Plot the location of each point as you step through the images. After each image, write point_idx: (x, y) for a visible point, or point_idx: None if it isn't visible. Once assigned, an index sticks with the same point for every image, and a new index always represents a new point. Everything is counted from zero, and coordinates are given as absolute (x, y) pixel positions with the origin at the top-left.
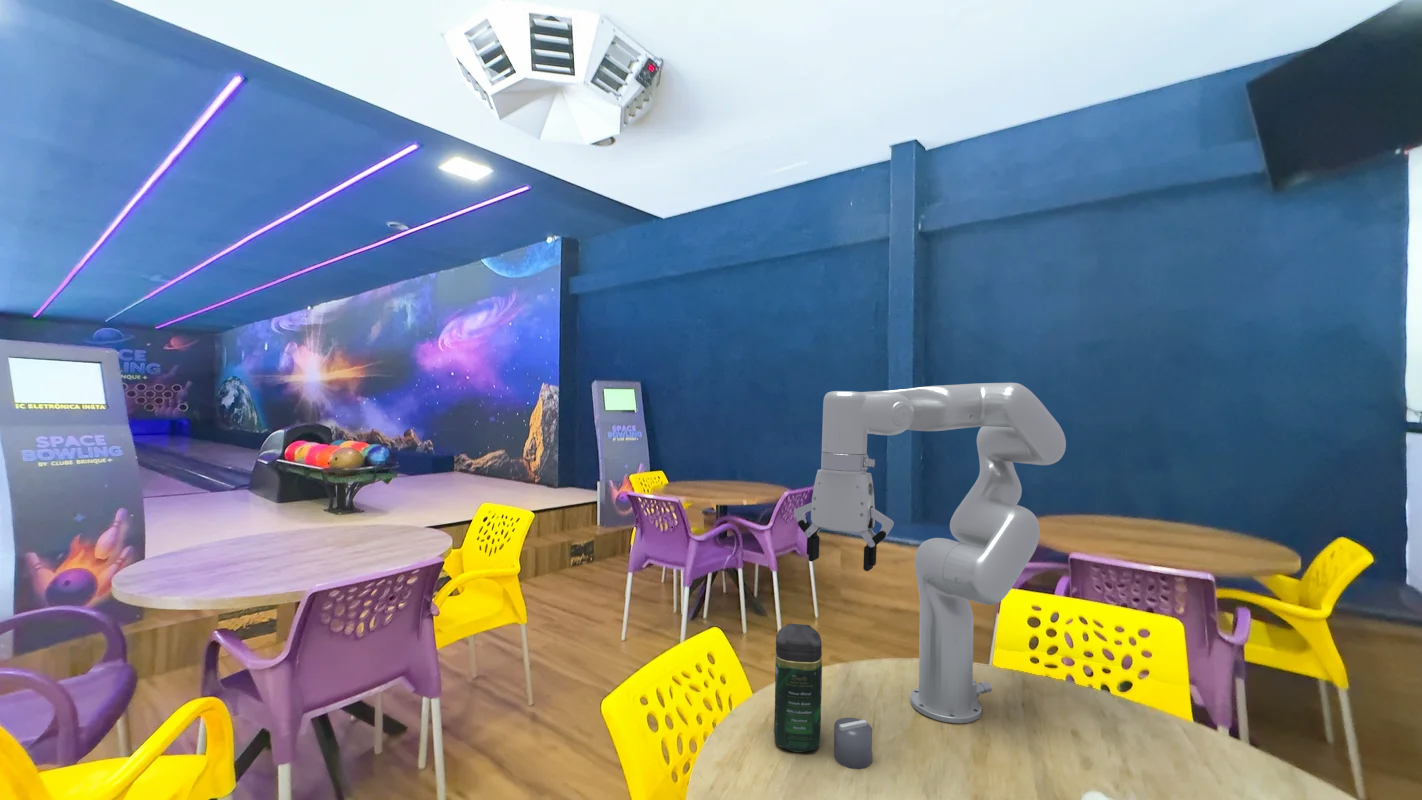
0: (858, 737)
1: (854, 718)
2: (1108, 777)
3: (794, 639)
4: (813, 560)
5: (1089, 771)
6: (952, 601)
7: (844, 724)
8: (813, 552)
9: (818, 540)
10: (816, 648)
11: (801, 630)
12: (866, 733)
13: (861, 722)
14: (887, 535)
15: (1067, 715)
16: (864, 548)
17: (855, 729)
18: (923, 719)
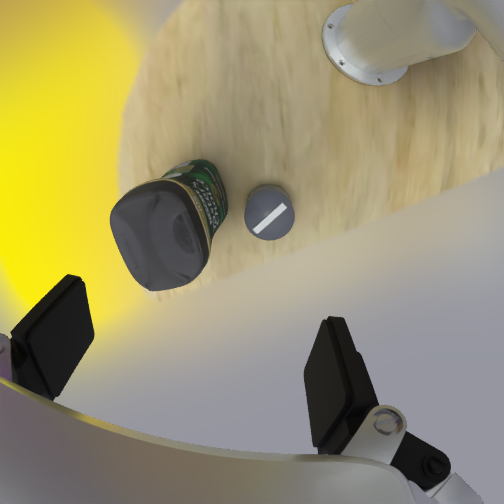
0: (279, 237)
1: (267, 193)
2: (490, 156)
3: (159, 287)
4: (93, 329)
5: (481, 150)
6: (467, 22)
7: (259, 225)
8: (79, 353)
9: (42, 338)
10: (200, 272)
11: (154, 250)
12: (288, 225)
13: (279, 211)
14: (445, 455)
15: (477, 46)
16: (314, 444)
17: (273, 221)
18: (343, 82)
